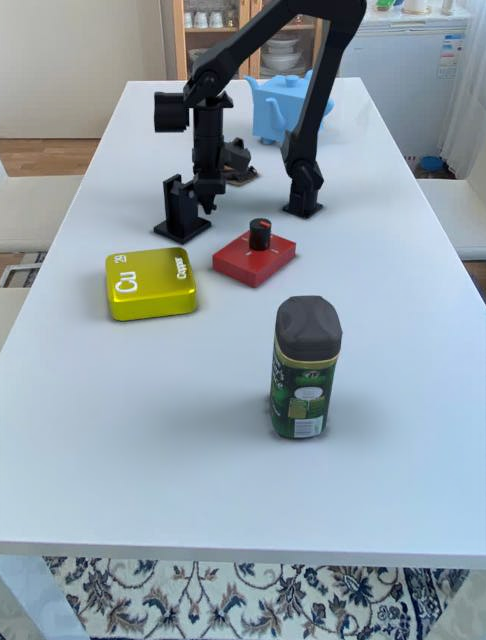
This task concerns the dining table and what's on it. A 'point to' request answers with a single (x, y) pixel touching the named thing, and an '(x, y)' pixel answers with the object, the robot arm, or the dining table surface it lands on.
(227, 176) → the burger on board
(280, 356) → the coffee jar
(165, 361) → the dining table surface
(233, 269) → the dial panel
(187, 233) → the lever bracket
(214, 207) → the black lever handle
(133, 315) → the element tile
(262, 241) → the knob
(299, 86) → the teakettle
